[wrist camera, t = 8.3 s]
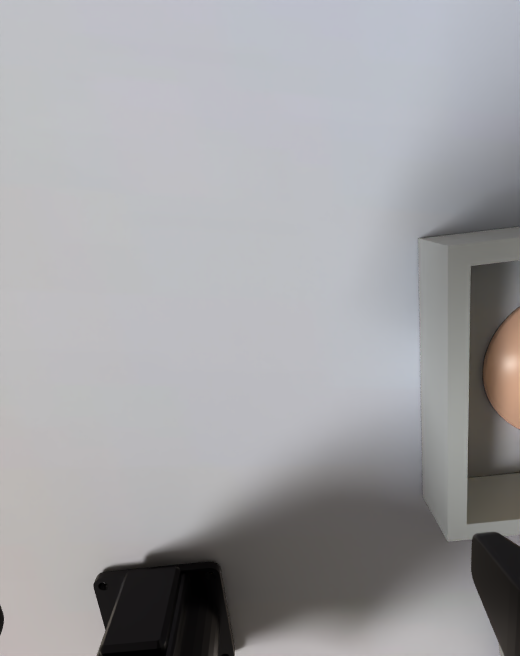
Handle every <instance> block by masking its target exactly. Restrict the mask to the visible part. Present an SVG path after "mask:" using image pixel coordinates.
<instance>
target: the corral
mask: <svg viewBox="0 0 520 656" xmlns="http://www.w3.org/2000/svg"><path fill="white" fill-rule="evenodd" d="M418 257H419V315H420V373H421V430H422V488H423V498H424V500H425V502H426V504H427V505H428V507H429V509H430V511H431V513H432V514H433V516H434V518H435V520H436V522H437V524H438V525H439V527H440V529H441V531H442V533H443V534H444V536H445V538H446V540H447V542H451V541H462V540H472V537H473V535H474V534H476V533H483V532H497V533H500V534H501V535H503V536H512V535H520V473H512V474H503V475H493V476H483V477H474V478H467V473H468V409H469V345H470V281H471V266H475V265H484V264H492V263H501V262H509V261H518V260H520V227H511V228H503V229H494V230H486V231H477V232H469V233H461V234H452V235H444V236H435V237H427V238H418ZM483 382H484V387H485V391H486V394H487V397H488V399H489V401H490V403H491V405H492V406H493V408H494V409H495V410H496V412H497V413H498V414H499V415H500V416H501V417H502V418H504V419H505V420H506V421H507V422H508V423H510V424H511V425H513V426H514V427H516V428H518V429H520V307H519V308H517V309H516V310H515V311H514V312H513V313H511V314H510V315H509V316H508V317H507V318H506V320H505V321H504V322H503V323H502V324H501V325H500V327H499V328H498V330H497V331H496V333H495V334H494V336H493V338H492V340H491V342H490V344H489V346H488V349H487V352H486V355H485V359H484V365H483Z"/></svg>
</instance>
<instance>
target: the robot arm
mask: <svg viewBox="0 0 520 656" xmlns="http://www.w3.org/2000/svg"><path fill="white" fill-rule="evenodd" d="M208 572H213V573H212V574H211V573H208ZM471 572H472V577H473V581H474V584H475V586H476V589H477V591H478V594H479V596H480V598H481V601H482V603H483V606H484V608H485V611H486V613H487V615H488V618H489V620H490V623H491V625H492V627H493V630H494V632H495V635H496V637H497V640H498V642H499V644H500V647H501V649H502V652H503V654H504V656H520V546H518V545H517V544H515V543H513V542H512V541H510V540H509V539H507V538H506V537H504V536H503V535H501V534H500V533H497V532H483V533H476V534H474V535H473V537H472V555H471ZM102 582H103V583H102ZM104 583H106V584H104ZM94 590H95V594H96V598H97V601H98V605H99V608H100V612H101V615H102V619H103V623H104V626H105V630H106V631H105V634H104V636H103V639H102V642H101V645H100V648H99V651H98V653H97V656H235V647H234V641H233V635H232V630H231V624H230V618H229V613H228V607H227V601H226V596H225V590H224V584H223V579H222V573H221V568H220V566H219V565H218V564H217V563H215V562H202V563H192V564H182V565H172V566H162V567H151V568H141V569H131V570H121V571H111V572H103V573H100V574H99V575H98V576H97V578H96V580H95V582H94ZM3 624H4V615H3V611H2V608H1V606H0V634H1V632H2V628H3Z"/></svg>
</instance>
